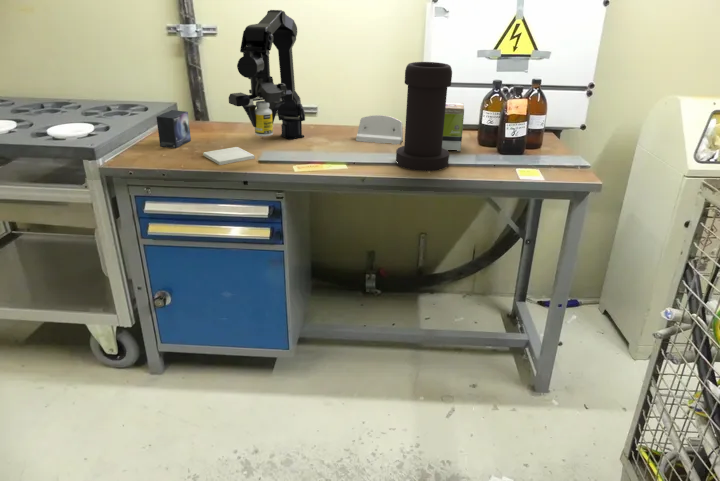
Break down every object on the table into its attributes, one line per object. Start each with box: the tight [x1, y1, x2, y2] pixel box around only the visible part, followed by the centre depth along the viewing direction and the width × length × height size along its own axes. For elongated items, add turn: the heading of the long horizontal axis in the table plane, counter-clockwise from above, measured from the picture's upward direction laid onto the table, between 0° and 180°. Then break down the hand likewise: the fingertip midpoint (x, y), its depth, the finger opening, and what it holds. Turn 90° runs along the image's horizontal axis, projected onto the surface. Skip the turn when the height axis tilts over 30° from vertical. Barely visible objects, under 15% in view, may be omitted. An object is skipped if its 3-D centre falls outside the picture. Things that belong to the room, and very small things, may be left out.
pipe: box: [395, 61, 453, 172], centre depth 163 cm, size 16×16×30 cm
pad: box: [202, 146, 256, 166], centre depth 170 cm, size 12×12×1 cm
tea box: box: [442, 102, 465, 152], centre depth 183 cm, size 15×10×15 cm, turn 81°
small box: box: [155, 109, 192, 149], centre depth 181 cm, size 11×6×10 cm, turn 168°
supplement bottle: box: [254, 100, 274, 137], centre depth 161 cm, size 5×5×10 cm
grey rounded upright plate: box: [355, 114, 404, 145], centre depth 191 cm, size 17×5×10 cm, turn 77°
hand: (263, 125), depth 162 cm, fingers closed on supplement bottle, 5 cm apart
